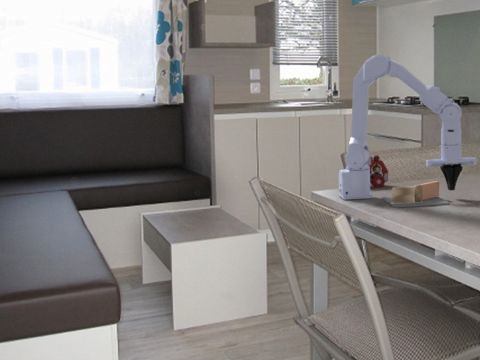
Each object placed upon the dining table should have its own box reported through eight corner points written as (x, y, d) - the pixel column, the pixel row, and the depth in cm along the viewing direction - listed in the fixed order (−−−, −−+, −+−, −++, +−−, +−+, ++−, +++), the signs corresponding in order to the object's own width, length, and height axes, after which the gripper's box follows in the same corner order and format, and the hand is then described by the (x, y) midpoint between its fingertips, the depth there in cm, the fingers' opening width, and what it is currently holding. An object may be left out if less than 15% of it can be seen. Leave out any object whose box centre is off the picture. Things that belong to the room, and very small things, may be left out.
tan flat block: (422, 200, 206) (422, 184, 205) (418, 199, 207) (418, 184, 206) (439, 196, 211) (439, 181, 210) (435, 195, 212) (435, 180, 211)
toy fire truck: (390, 187, 235) (390, 156, 233) (353, 189, 234) (352, 157, 233) (385, 184, 241) (385, 153, 240) (349, 185, 241) (349, 155, 240)
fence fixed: (394, 203, 204) (393, 187, 203) (392, 202, 206) (391, 186, 205) (422, 202, 205) (422, 185, 204) (420, 200, 207) (420, 184, 206)
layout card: (394, 207, 201) (394, 205, 201) (381, 198, 215) (381, 196, 215) (449, 204, 202) (449, 202, 202) (433, 195, 216) (433, 194, 216)
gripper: (470, 141, 213) (470, 186, 215) (422, 144, 212) (422, 188, 214) (479, 144, 206) (479, 190, 208) (430, 146, 205) (430, 192, 207)
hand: (451, 189), depth 210 cm, fingers closed
